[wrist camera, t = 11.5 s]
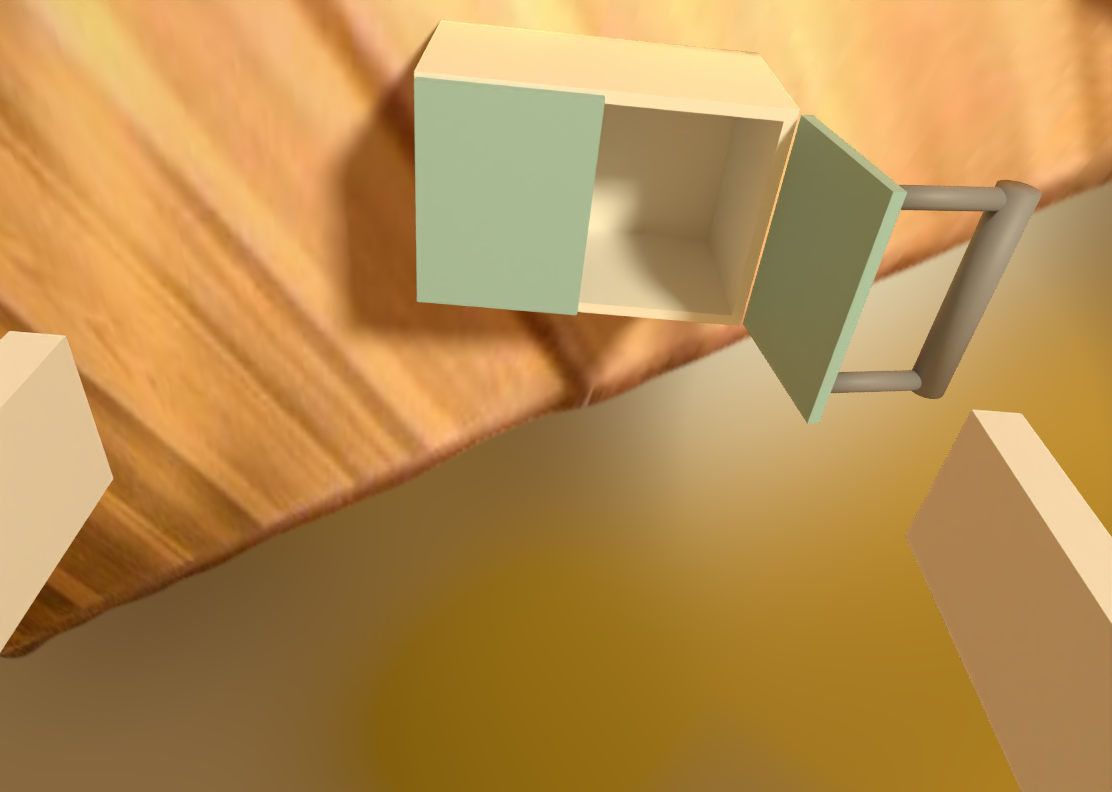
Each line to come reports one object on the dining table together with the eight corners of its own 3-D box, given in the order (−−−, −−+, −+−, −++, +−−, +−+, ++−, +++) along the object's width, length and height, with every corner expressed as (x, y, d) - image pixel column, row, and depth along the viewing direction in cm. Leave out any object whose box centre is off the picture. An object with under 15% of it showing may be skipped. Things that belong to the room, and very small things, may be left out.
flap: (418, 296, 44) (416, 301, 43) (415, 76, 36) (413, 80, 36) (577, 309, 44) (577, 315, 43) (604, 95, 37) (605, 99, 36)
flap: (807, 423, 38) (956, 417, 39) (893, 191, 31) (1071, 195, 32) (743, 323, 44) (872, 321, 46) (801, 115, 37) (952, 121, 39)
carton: (439, 219, 52) (416, 298, 44) (440, 20, 44) (414, 71, 36) (713, 244, 53) (739, 325, 45) (758, 53, 45) (799, 109, 37)
